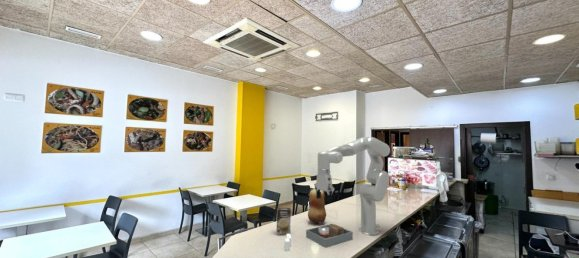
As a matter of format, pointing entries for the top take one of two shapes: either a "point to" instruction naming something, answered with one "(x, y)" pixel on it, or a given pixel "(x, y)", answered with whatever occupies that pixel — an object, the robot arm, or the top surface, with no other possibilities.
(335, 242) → the crate
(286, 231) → the coffee box
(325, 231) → the can
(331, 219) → the top surface
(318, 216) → the butternut squash
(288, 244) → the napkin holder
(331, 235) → the brown block
